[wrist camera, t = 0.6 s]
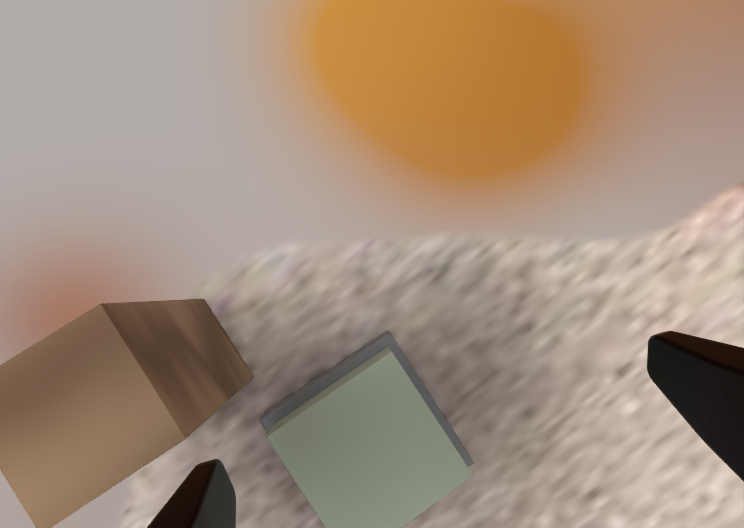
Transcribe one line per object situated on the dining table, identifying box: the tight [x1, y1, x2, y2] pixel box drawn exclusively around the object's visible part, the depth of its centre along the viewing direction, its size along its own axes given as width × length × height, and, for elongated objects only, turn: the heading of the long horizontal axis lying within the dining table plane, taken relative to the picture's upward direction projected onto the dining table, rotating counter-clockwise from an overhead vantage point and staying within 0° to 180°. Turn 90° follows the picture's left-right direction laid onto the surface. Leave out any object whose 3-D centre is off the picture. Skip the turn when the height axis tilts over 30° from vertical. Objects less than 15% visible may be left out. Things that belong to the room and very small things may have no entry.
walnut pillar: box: [0, 299, 253, 528], centre depth 18 cm, size 5×5×10 cm
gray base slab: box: [259, 331, 474, 467], centre depth 23 cm, size 8×8×2 cm
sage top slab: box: [267, 346, 473, 528], centre depth 21 cm, size 7×7×2 cm
